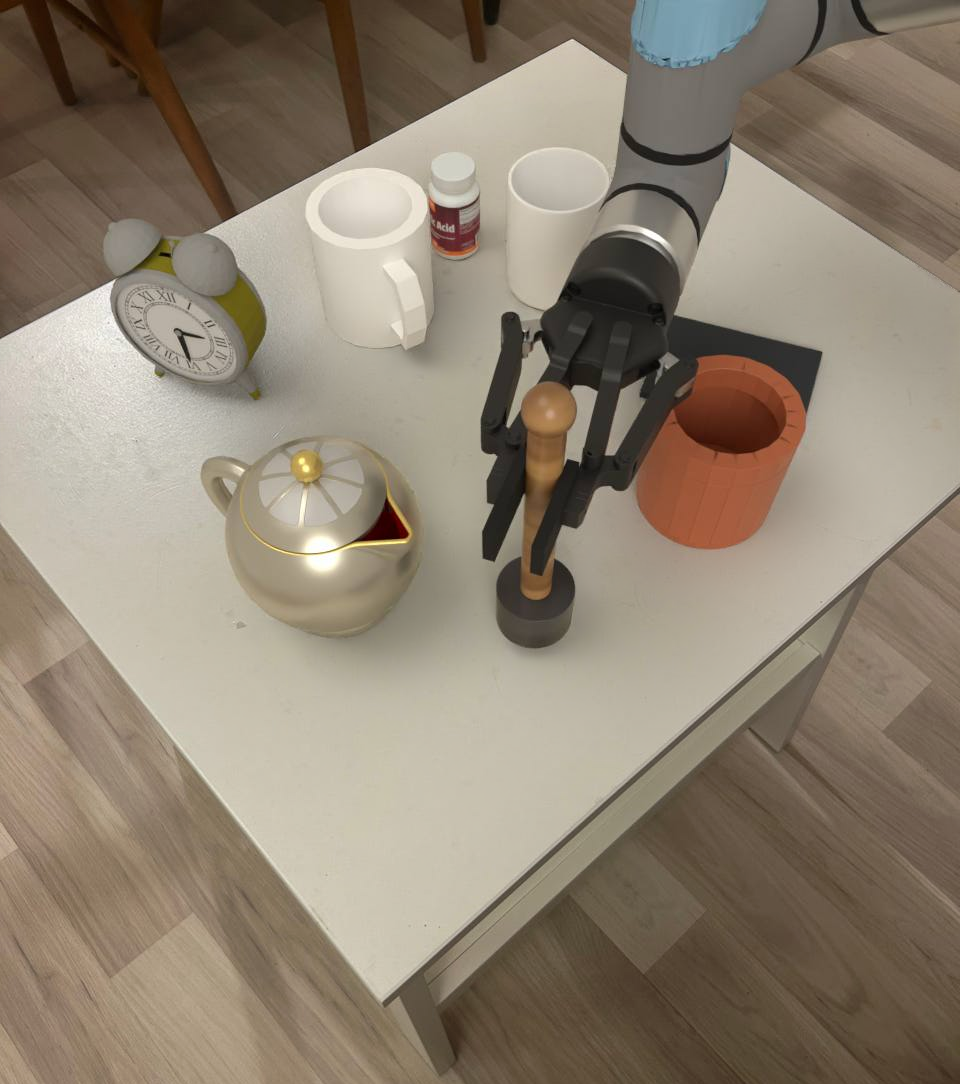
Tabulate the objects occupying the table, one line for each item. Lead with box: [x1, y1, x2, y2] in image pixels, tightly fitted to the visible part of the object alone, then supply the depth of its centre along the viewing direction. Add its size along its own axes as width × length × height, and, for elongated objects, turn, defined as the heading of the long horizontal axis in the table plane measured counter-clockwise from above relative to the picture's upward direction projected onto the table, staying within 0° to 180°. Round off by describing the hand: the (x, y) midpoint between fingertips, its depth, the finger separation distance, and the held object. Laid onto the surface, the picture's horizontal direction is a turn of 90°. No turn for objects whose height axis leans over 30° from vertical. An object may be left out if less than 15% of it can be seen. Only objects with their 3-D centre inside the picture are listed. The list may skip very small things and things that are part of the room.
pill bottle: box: [427, 151, 481, 261], centre depth 87 cm, size 5×5×8 cm
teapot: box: [200, 435, 424, 639], centre depth 65 cm, size 18×14×16 cm
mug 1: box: [305, 167, 435, 351], centre depth 81 cm, size 14×10×11 cm
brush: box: [495, 381, 578, 649], centre depth 59 cm, size 6×6×24 cm
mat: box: [639, 314, 824, 415], centre depth 82 cm, size 14×10×1 cm
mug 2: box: [505, 146, 611, 311], centre depth 83 cm, size 9×12×11 cm
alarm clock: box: [102, 218, 268, 400], centre depth 76 cm, size 12×7×15 cm, turn 73°
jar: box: [635, 355, 807, 550], centre depth 72 cm, size 11×11×10 cm
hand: (512, 553), depth 52 cm, fingers closed on brush, 2 cm apart
